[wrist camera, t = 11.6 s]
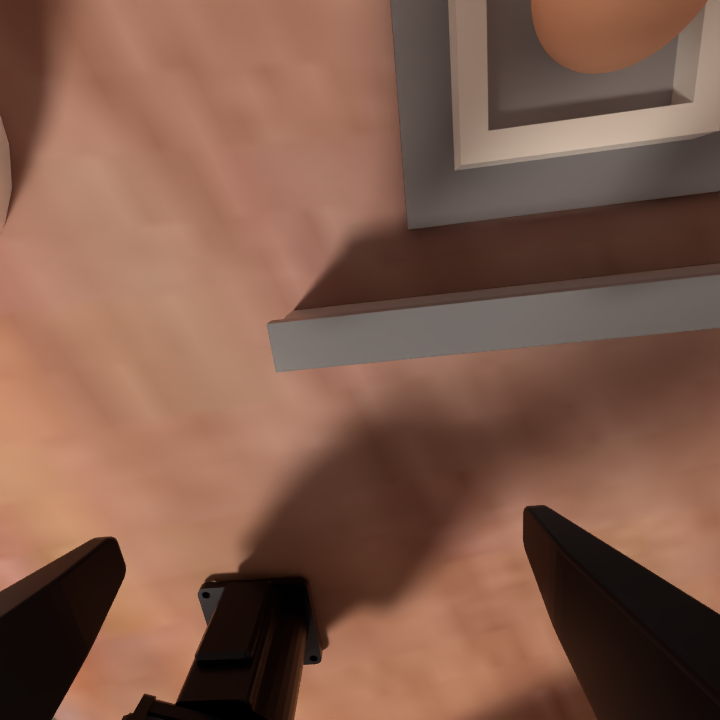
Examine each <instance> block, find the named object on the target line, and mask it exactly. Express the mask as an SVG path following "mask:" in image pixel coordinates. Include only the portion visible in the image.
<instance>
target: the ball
mask: <svg viewBox="0 0 720 720" xmlns="http://www.w3.org/2000/svg"><path fill="white" fill-rule="evenodd" d="M707 1H708V0H531V13H532V19H533V24H534V28H535V32H536V34H537V37H538V39H539V41H540V43H541V45H542V47H543V48H544V50H545V51H546V52H547V54H548V55H549V56H550V57H551V58H552V59H553V60H554V61H555V62H557V63H558V64H560V65H561V66H563V67H565V68H568V69H570V70H572V71H575V72H579V73H586V74H600V73H608V72H613V71H617V70H620V69H623V68H626V67H629V66H631V65H634V64H636V63H637V62H639V61H641V60H643V59H645V58H647V57H649V56H651V55H652V54H654V53H655V52H657V51H658V50H659V49H661V48H662V47H664V46H665V45H666V44H667V43H669V42H670V41H671V40H672V39H673V38H675V37H676V36H677V35H678V34H679V33H680V32H681V31H682V30H683V29H684V28H685V27H686V26H687V25H688V24H689V23H690V22H691V21H692V20H693V19H694V18H695V17H696V15H697V14H698V13H699V11H700V10H701V9H702V8H703V6H704V5H705V4H706V2H707Z"/></svg>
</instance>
